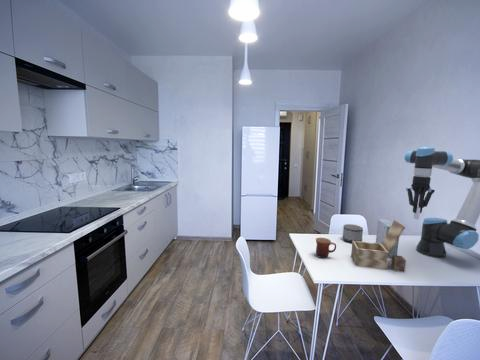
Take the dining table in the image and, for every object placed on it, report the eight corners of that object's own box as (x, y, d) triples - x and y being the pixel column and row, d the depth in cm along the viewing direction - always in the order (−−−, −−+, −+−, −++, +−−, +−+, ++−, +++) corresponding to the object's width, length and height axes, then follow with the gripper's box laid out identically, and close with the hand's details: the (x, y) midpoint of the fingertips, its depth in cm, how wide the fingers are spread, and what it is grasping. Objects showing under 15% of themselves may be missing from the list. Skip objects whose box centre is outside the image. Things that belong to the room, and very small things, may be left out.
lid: (381, 243, 142) (383, 244, 141) (388, 251, 130) (391, 252, 130) (394, 219, 138) (396, 220, 138) (403, 226, 127) (405, 227, 126)
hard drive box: (397, 258, 145) (401, 227, 142) (383, 257, 146) (386, 226, 143) (387, 248, 160) (390, 219, 157) (374, 247, 161) (377, 218, 158)
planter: (359, 238, 176) (360, 225, 175) (363, 245, 164) (365, 230, 162) (341, 236, 179) (342, 223, 177) (344, 243, 167) (345, 229, 165)
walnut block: (400, 267, 134) (401, 256, 133) (404, 272, 129) (405, 260, 128) (390, 266, 135) (392, 254, 134) (394, 270, 130) (395, 258, 129)
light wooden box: (379, 259, 143) (381, 243, 142) (386, 269, 132) (388, 252, 130) (351, 256, 147) (352, 240, 145) (355, 265, 135) (357, 248, 134)
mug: (313, 257, 144) (314, 241, 143) (315, 251, 152) (316, 236, 151) (334, 261, 139) (336, 245, 138) (335, 255, 147) (336, 239, 146)
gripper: (432, 176, 129) (426, 217, 132) (405, 174, 132) (399, 215, 135) (440, 177, 121) (433, 221, 125) (411, 176, 124) (405, 219, 128)
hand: (416, 218), depth 130 cm, fingers closed
